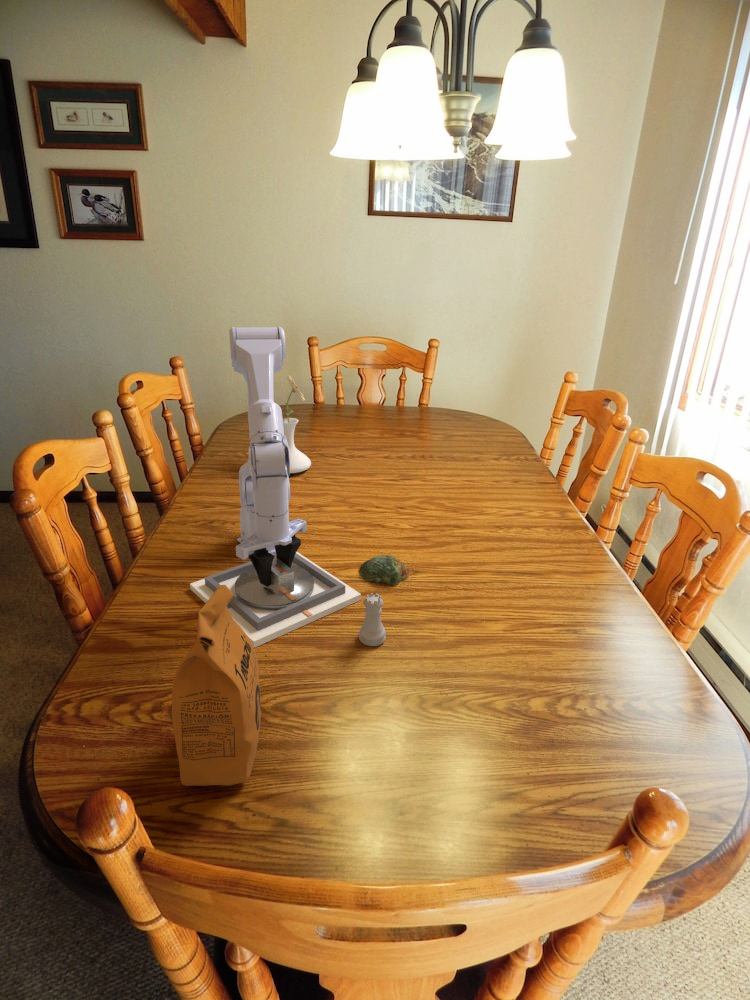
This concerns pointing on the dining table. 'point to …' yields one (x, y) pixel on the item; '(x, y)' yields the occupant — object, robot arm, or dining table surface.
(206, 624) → the coffee package
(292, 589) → the dial
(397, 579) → the seashell
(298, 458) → the flower in vase
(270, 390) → the robot arm
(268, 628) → the dial panel
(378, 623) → the rook chess piece
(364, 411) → the dining table surface
